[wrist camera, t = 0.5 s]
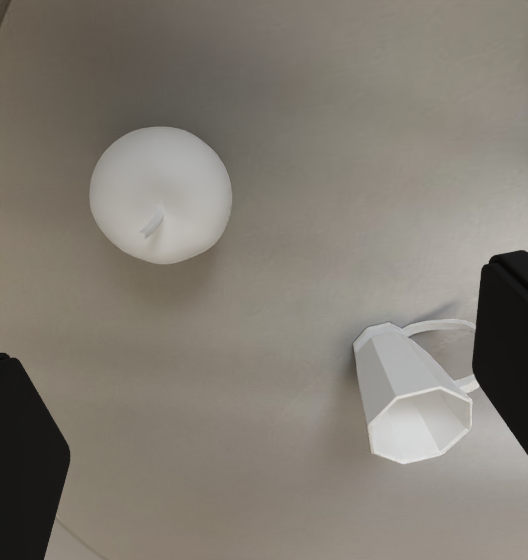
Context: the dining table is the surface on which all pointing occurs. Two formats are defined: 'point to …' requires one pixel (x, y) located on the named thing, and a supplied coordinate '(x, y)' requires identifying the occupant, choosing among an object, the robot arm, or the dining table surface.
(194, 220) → the plain white apple
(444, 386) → the cup
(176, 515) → the dining table surface
